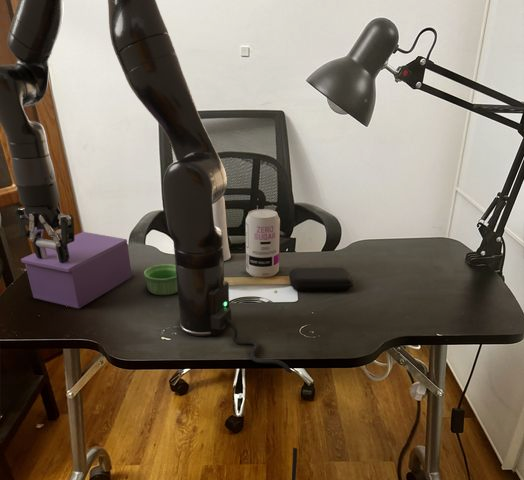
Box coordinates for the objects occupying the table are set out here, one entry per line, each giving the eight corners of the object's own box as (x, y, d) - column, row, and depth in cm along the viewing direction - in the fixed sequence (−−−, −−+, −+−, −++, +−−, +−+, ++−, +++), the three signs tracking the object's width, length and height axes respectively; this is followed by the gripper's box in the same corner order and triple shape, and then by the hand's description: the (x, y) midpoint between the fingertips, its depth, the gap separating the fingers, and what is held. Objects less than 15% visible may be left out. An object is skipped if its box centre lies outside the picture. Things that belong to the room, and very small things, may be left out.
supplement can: (265, 263, 135) (265, 206, 128) (285, 273, 130) (287, 214, 122) (239, 270, 131) (238, 212, 123) (259, 281, 126) (259, 220, 118)
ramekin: (180, 278, 127) (178, 261, 124) (188, 293, 120) (187, 275, 117) (143, 283, 124) (141, 266, 122) (149, 299, 117) (147, 281, 115)
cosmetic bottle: (216, 263, 135) (212, 177, 124) (203, 256, 139) (198, 172, 128) (235, 258, 139) (233, 173, 127) (222, 251, 143) (218, 169, 131)
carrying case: (346, 274, 129) (287, 275, 129) (347, 263, 128) (287, 263, 127) (354, 293, 120) (290, 293, 120) (355, 280, 119) (291, 281, 118)
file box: (79, 308, 113) (71, 271, 108) (33, 297, 117) (24, 261, 113) (132, 276, 128) (127, 242, 123) (89, 268, 132) (83, 234, 128)
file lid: (68, 272, 107) (63, 248, 105) (21, 262, 112) (15, 239, 109) (127, 242, 123) (124, 220, 120) (83, 234, 128) (79, 213, 125)
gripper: (-7, 179, 102) (14, 260, 111) (49, 187, 97) (67, 271, 106) (22, 171, 108) (40, 248, 117) (77, 178, 103) (91, 258, 112)
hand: (53, 259), depth 111 cm, fingers closed on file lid, 5 cm apart
